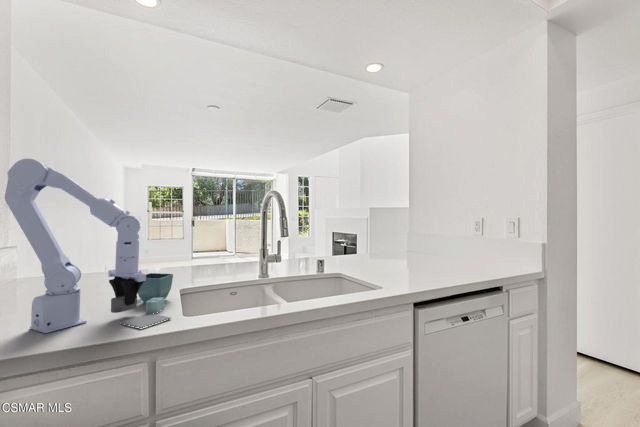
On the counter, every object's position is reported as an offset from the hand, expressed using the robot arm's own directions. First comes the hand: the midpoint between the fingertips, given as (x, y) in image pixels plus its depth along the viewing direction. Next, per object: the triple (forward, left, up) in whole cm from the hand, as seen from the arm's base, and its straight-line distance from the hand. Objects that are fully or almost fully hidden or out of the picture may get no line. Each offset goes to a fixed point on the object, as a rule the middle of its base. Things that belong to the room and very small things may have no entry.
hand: (125, 303), depth 90 cm
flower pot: (+15, +8, -4) cm, 17 cm away
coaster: (0, -9, -4) cm, 10 cm away
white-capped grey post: (0, 0, -2) cm, 2 cm away
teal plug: (+8, -2, -4) cm, 9 cm away
